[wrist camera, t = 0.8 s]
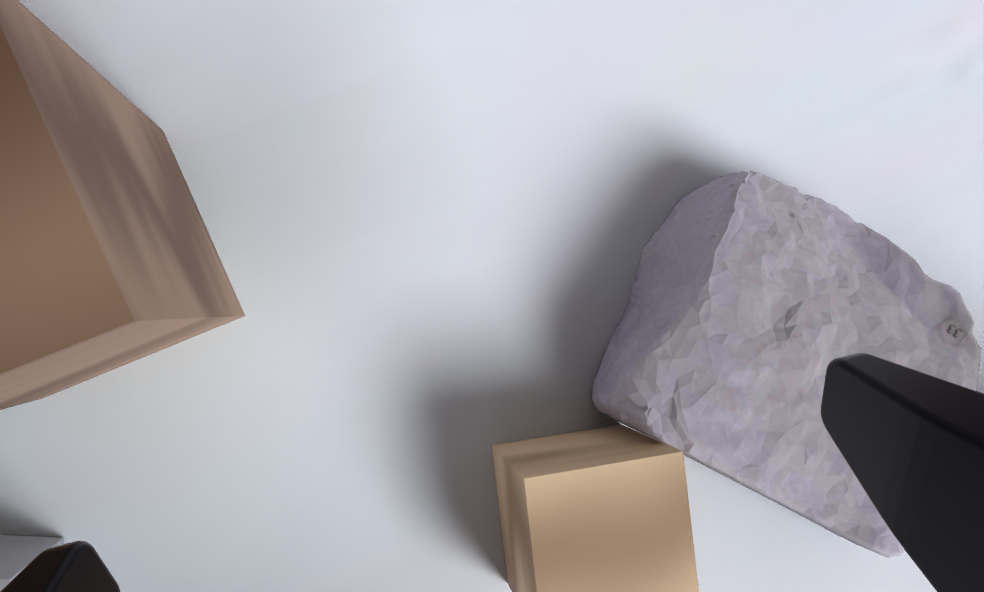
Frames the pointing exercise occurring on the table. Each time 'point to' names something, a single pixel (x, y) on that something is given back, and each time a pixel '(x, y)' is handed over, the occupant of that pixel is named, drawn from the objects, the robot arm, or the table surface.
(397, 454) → the table surface
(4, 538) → the slate slab
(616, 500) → the oak cube
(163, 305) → the walnut pillar
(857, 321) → the stone block
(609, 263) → the table surface
